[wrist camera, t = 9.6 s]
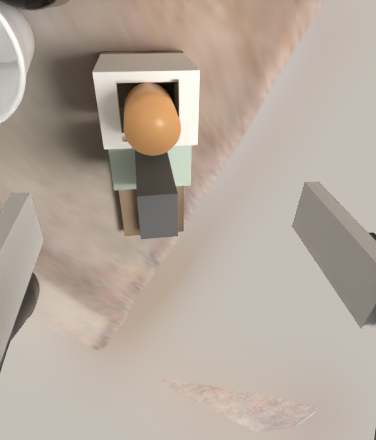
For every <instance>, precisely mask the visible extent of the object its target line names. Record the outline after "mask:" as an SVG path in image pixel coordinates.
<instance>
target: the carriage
mask: <svg viewBox="0 0 376 440" xmlns="http://www.w3.org/2000/svg"><path fill="white" fill-rule="evenodd" d="M108 152H109V159H110V166H111V173H112V180H113V187H114V190H128V189H137V204H138V214H139V224H140V235H141V239H149V238H160V237H172V236H178V193H177V189H176V186H189V185H191V145H186V146H174V147H173V148H172V149H170V150H169V151H168V152H166V153H164V154H161V155H155V156H150V155H145V154H142V153H139V152H138V151H136V150H135V149H133V148H125V149H108Z"/></svg>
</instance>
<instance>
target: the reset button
mask: <svg viewBox="0 0 376 440" xmlns="http://www.w3.org/2000/svg"><path fill="white" fill-rule="evenodd" d="M180 133H181V123H180V119H179V117H178V114H177V112H176V109H175V107H174V104H173V102H172V99H171V97H170V95H169V94H168V92H167V91H166V90H165V89H164V88H163V87H161V86H160V85H158V84H155V83H148V82H147V83H141V84H138V85H137V86H135V87H134V88H132V89H131V90H130V91H129V93H128V94H127V96H126V99H125V104H124V134H125V137H126V139H127V141H128V143H129V144H130V145H131V147H132V148H133V149H135V150H136V151H138V152H139V153H142V154H145V155H150V156H155V155H161V154H164V153H166V152H168V151H169V150H170V149H172V148H173V147H174V146H175V144H176V143H177V141H178V139H179V137H180Z"/></svg>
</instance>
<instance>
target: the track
mask: <svg viewBox="0 0 376 440" xmlns="http://www.w3.org/2000/svg"><path fill="white" fill-rule="evenodd" d="M147 53H184V52H183V51H113V52H101V54H147ZM146 83H147V82H146ZM148 83H155V84H158V85H160V86H161V87H163V88H164V89H165V90H166V91H167V92H168V94H169V95H170V97H171V99H172V102H173V104H174V106H175V97H174V82H148ZM138 84H141V83H117V91H118V100H119V107H124V104H125V99H126V96H127V94H128V93H129V91H130V90H131V89H132V88H134V87H135V86H137V85H138ZM176 189H177V193H178V232H180V231H183V215H184V186H176ZM119 197H120V205H121V212H122V220H123V227H124V235H125V236H132V235H140V224H139V214H138V204H137V189H128V190H119Z"/></svg>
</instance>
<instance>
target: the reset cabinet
mask: <svg viewBox="0 0 376 440" xmlns="http://www.w3.org/2000/svg"><path fill="white" fill-rule="evenodd" d="M92 73H93V80H94V86H95V93H96V100H97V106H98V113H99V120H100V126H101V133H102V139H103V146H104V149H125V148H132V147H131V145H130V144H129V143H128V141H127V139H126V137H125V134H124V107H119V100H118V91H117V83H146V82H174V97H175V106H174V107H175V109H176V112H177V114H178V117H179V119H180V123H181V133H180V137H179V139H178V141H177V143H176V144H175V146H186V145H198V114H199V81H200V70H199V69H198V68H197V67H196V66H195V65H194V63H193V62H192V61H191V60H190V59H189V58H188V57H187V56H186V55H185V54H184V53H147V54H100V56H99V58H98V61H97V63H96V65H95V67H94V70H93V72H92Z"/></svg>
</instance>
